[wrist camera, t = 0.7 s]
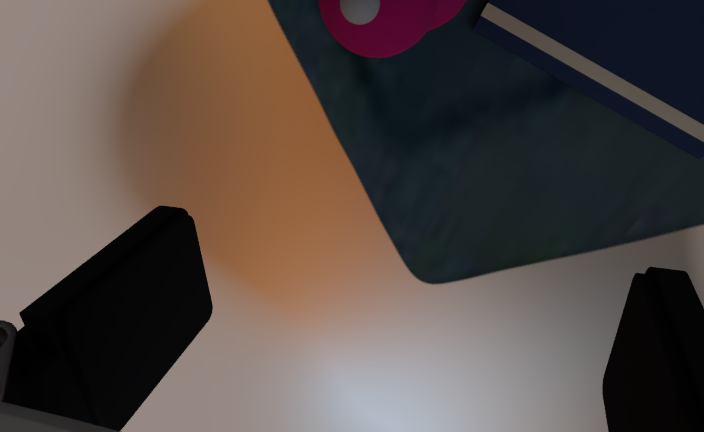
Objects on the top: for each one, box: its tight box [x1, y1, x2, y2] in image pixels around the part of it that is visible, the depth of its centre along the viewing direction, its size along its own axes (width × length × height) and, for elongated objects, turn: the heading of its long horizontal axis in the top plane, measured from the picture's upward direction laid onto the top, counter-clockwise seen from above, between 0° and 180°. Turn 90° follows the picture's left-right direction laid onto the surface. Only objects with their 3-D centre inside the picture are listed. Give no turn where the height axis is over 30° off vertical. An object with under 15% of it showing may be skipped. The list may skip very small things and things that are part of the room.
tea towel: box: [473, 0, 704, 159], centre depth 36 cm, size 20×11×1 cm, turn 65°
